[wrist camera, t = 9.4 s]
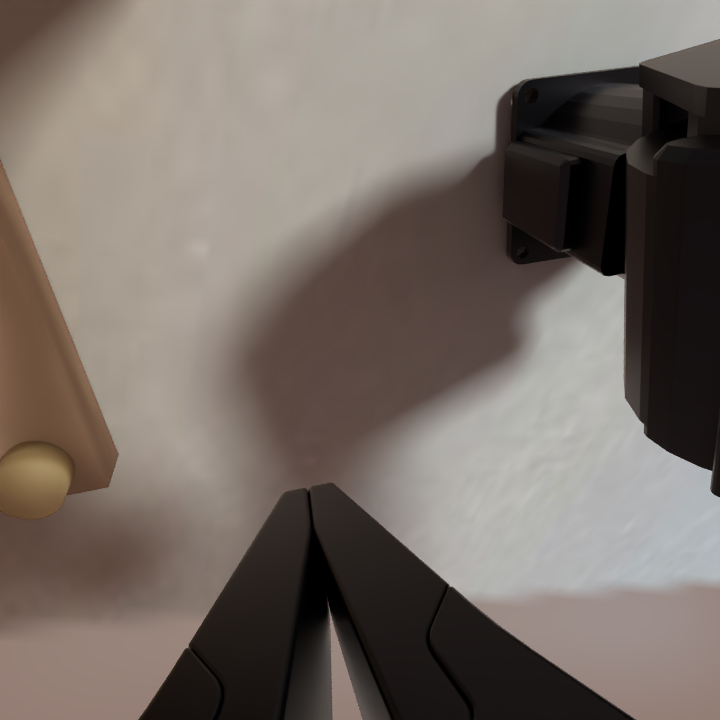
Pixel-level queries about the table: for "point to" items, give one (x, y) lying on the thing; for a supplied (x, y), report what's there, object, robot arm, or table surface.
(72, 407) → the wooden base with pillar
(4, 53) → the table surface
